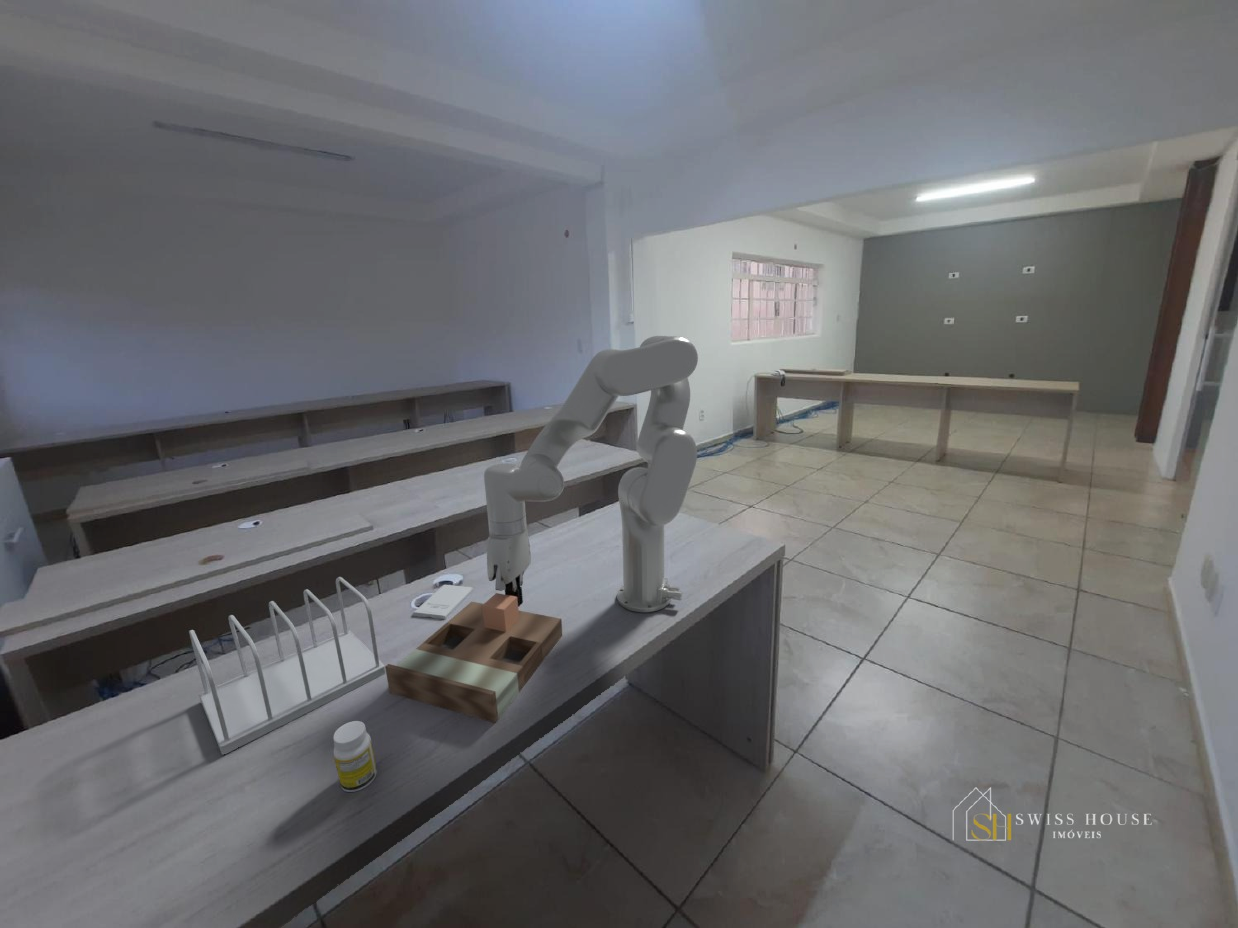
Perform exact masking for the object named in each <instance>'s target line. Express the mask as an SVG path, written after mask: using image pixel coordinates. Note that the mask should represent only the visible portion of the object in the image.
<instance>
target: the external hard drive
mask: <svg viewBox="0 0 1238 928" xmlns="http://www.w3.org/2000/svg"><path fill="white" fill-rule="evenodd" d="M473 592H474V588H473V587H471V586H462V585H452V584H443V585H442V586H440V587H439V588H438V589H437V590H436V591H435V592H434V593H433V594H432V595H431V596H430V597H429V598H427V599H426V600H425V601H424V602H423V603H422V604H421V605H420V606H419V607H418V608H416V609H415V610H414V611H413V612H412V615H413V616H414V617H422V618H432V619H438V620H447V619H448V618H449V616H451V615H452V614H453V613H454V611H456V610H457V609H458V608H459V606H460V605H462V604H463V602H464V601H465V600H466V599H468V597H469V596H470V595H471V594H472V593H473Z"/></svg>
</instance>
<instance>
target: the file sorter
mask: <svg viewBox="0 0 1238 928" xmlns="http://www.w3.org/2000/svg"><path fill="white" fill-rule="evenodd" d="M340 583H342V584H343V585H344V586H345V587H347V588H348V589H349V590H350V591H351V592H352V593H353V594H354V595H355V596H357V597H358V598H360V600H361V601H362V602H363V604H364V606H365V609H366V612H367V618H368V625H369V630H370V637H371V644H372V650H373V652H372V651H371V650H370V649H369V648H368V647H367V646H366V645H365V644H364V643H363V642H362V640H360V639H359V637H357V636H356V634H354V633H353V632H352V630H350V629H349V630H348V625H347V620H346V619H347V618H346V615H345V614H346V613H345V609H344V604H343V596H342V592H341V591H342V589H341V586H340V585H341V584H340ZM335 587H336V593H337V598H338V603H339V604H338V605H339V610H340V616H341V621H342V622H341V623H342V627H343V632H342V633H339V634H338V628H337V625H336V621H335V618H334V616H333V614H332V612H331V611H330V610H329V608H328V607H327V606H326V605H325V604H324V603H322V601H321V600H319V598H318V597H317V596H316V595H314V594H313V592H311V590H309V589H308V588H307V589H304V590H303V600H304V605H305V609H306V614H307V615H306V616H307V620H308V624H309V629H310V633H311V638H312V643H313V644H312V645H310V646H307V647H305V648H303V649H302V646H301V642H300V638H299V635H298V632H297V629H296V627H295V626H294V624H293V622H292V621H291V620H290V619H289V618H288V616H287V615H286V614H285V613H284V611H282V610H281V608H280V607H279V606H278V605H277V603H276V602H275V601H274V600H271V601H269V602H268V609H269V615H270V619H271V620H270V621H271V624H272V628H273V632H274V633H273V634H274V636H275V641H276V646H277V650H278V655H279V659H277V660H274V661H272V662H269V663H267V664H265V665H262V664H261V659H260V656H259V653H258V650H257V647H256V644H255V642H254V641H253V639H252V637H251V636H250V634H248V632H247V631H246V630H245V628H244V627H243V626H242V625H241V623H240V622H239V621H238V620H237V618H236V617H235V616H234V615H233V614H230V615H228V624H229V628H230V630H231V634H232V639H233V641H234V644H235V649H236V652H237V655H238V658H239V662H240V666H241V670H242V672H243V674H241V675H239V676H237V677H234V678H232V679H229V680H227V681H225V682H223V683H220V684H218V685H216V682H215V680H214V676H213V672H212V669H211V667H210V663H209V661H208V658H207V656H206V654H205V652H204V650H203V647H202V646H201V643H200V641H199V639H198V636H197V634H196V631H195V630H193V629H191V630H189V631H188V633H189V638H190V642H191V646H192V649H193V654H194V657H195V661H196V666H197V667H198V668H197V669H198V672H199V675H200V679H201V684H202V686H203V691H201V692H199V694H198V696H199V701H200V703H201V705H202V708H203V711H204V713H205V716H206V718H207V721H208V723H209V725H210V728H211V731H212V733H213V736H214V737H215V741H216V743H217V746H218V749H219V752H220V754H221V755H222V756H224V754H225V755H226V754H229V753H231V752H233V751H234V750H236V749H239V748H240V747H242V746H245V745H247V744H248V743H250V742H253V741H254V740H256V739H258V738H260V737H262V736H264V735H266V734H268V733H270V732H272V731H274V730H276V729H278V728H280V727H282V726H284V725H286V724H288V723H290V722H292V721H295V720H296V719H298V718H299V717H302V716H304V715H306V714H308V713H310V712H311V711H314V710H316V709H318V708H320V707H321V706H324V705H327V703H330V702H332V701H333V700H335V699H337V698H339V697H342V696H343V695H346V694H347V693H349V692H351V691H353V690H356V689H357V688H359V687H361V686H363V685H365V684H367V683H369V682H371V681H374V680H375V679H377V678H379V677H381V676H382V675H386V669H385V666H386V665H385V664H384V663H383V662H382V661H381V660H380V659H379V654H378V647H377V639H376V633H375V627H374V626H375V625H374V621H373V620H374V619H373V618H374V617H373V613H372V608H371V606H370V602H369V600H368V599H367V597H365V596H364V594H362V593H361V591H359V590H357V589H356V588H355V587H354V586H353V585H352V584H351V583H349V582H348V581H347V580H345V579H344V578H343V577H342V576H338V577H337V578H336V579H335ZM308 596H309V597H310V599H312V600H313V602H314V603H315V604H317V606H318V607H319V608H320V609H321V610H322V611H323V612H324V613H325V614H326V616H327V617H328V619H329V622H330V626H331V629H332V633H333V636H332V637H330V638H327V639H324V640H322V641H320V642H317V638H316V633H315V628H314V622H313V618H312V613H311V607H310V601H309V597H308ZM275 612H277V614H278V615H279V616H280V618H281V619H282V620H283V621H284V622H285V623H286V625H287V626H288V627H289V629H290V631H291V634H292V636H293V639H294V643H295V647H296V652H293V653H291V654H288V655H286V656H284V653H283V649H282V644H281V643H282V642H281V638H280V634H279V630H278V624H277V620H276V616H275ZM236 628H237V630H238V631H239V633H240V634H241V635H242V636H243V638H244V639H245V641H246V642H247V643H248V645H249V647H250V649H251V652H252V655H253V659H254V663H255V669H254V670H253V669H252V670H249V671H248V669H247V665H246V662H245V660H244V655H243V652H242V648H241V645H240V642H239V638H238V634H237V630H236ZM204 670H205V671H204ZM205 672H206V675H207V676H206V675H205ZM206 677H207V678H206ZM208 683H209V686H210V688H209V687H208ZM238 747H239V748H238Z"/></svg>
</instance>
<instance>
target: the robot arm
mask: <svg viewBox="0 0 1238 928" xmlns="http://www.w3.org/2000/svg"><path fill="white" fill-rule="evenodd" d="M698 359H699V355H698V351H697V349H696V347H695V345H694V344H693V342H691V341H690V340H689V339H687V338H685V337H682V336H674V335H673V336H670V335H668V336H667V335H653V336H650V337H648V338H646V339H644V340H643V341H642V342H641V344H640V345H639V347H634V348H629V349H625V350H624V349H623V350H622V349H611V348H609V349H604V350H603V349H602V350H600V351H598V352H597V353H596V354H595V355H594V356H593V357H592V359H591V360H590V362H589V363H587V364H588V365H587V367H586V368H585V369H584V371H583V373H582V374H581V376H580V378H578V381H577V382H576V384H575V385H574V387H573V389H572V390H571V392H570V393H569V395H568V397H567V399H566V400H565V401H564V403H563V405H562V406H561V408H560V409H559V410H558V411H557V413H556V414H554V416H552V418H551V419H550V420H549V421H548V423H547V424H546V425H545V426H544V427H543V428H541V430H540V431H539V433H538V434H537V436H536V437H535V439H534V440H533V442H532V443H531V446H530V447H529V448H528V450H527V452H526V453H525V455H524V456H523V458H522V460H521V463H520V466H519V465H518V464H515V463H498V464H493V465H491V466H488V467H487V468H485V471H484V473H483V481H484V489H485V501H486V512H487V522H488V532H489V535H488V538H487V543H486V569H487V570H486V571H487V578H488V581H490V582H493V581H495V591H500V592H502V591H504V595H510V596H515V597H517V600H518V608H519V607H520V606H521V605H523V602H524V600H523V588H522V587H523V584H524V573H525V572H526V571H527V569H528V568H529V566H530V565H531V562H532V561H531V560H532V558H531V557H532V556H531V544H530V537H529V532H528V527H527V526H528V524H527V514H526V511H527V510H526V502H549V501H553V500H555V499H557V498H558V497H559V496H560V495H562V493H563V490H564V488H565V480H564V476H563V475H562V474H563V473H561V471H560V470H559V468H558V465H559V464H560V463H561V461H562V460H563V458H564V456H565V455H566V454H567V452H568V451H569V450H570V449H571V448H572V446H574V445H575V444H576V443H577V442H579V441H580V440H583V439H585V438H588V437H590V436H591V435H593V434H594V433H595V432H597V431H598V429H599V428H600V426H601V425H602V423H603V421H604V420H605V418H606V416H607V415H608V414H609V412H610V410H611V409H612V407H613V405H614V404H615V402H616V401H617V400H618V398H619V397H630V396H633V395H639V394H642V393H646V392H650V397H649V401H648V406H647V409H646V413H645V416H644V420H643V422H642V426H641V429H640V432H639V436H638V438H637V442H636V452H637V453H638V455H639V457H640V458H641V460H643V461H644V462H646V463H647V464H649V468H647V467H642V466H637V467H632V468H630V469H629V470H627V471H626V472H625V473H624V474H623V475H622V477H621V478H620V480H619V483H618V489H617V490H618V491H617V493H618V502H619V503H618V504H619V508H620V515H621V530H622V531H621V532H622V570H623V571H622V575H623V577H622V578H623V583H622V584H623V586H621V587H620V588H619V589H618V590H617V593H616V597H617V598H616V599H617V602H618V604H619V605H620V606H621V607H623V608H624V609H626V610H628V611H632V612H636V613H654V612H656V611H657V612H658V611H660V610H662V609H664V608H666V607H667V606H668V605H669V604H670V602H671V599H672V600H676V601H681V602H682V600H683V592H682V591H680V586H674V585H673V586H672V585H670V584H668V583H669V582H668V579H669V578H666V577H665V526H666V525H667V524H669V523H671V522H672V521H674V519H676V517H677V516H678V514H679V512H680V510H682V509H681V508H682V507H683V503H684V501H685V498H686V496H687V493H688V490H689V487H690V483H691V480H692V477H693V475H694V472H695V469H696V465H697V461H698V448H697V444H696V441H695V440H694V438H693V437H692V436H691V434H689V433H688V432H687V431H685V430H684V427H685V423H686V421H687V420H686V418H687V415H688V413H689V412H688V410H689V408H690V401H691V387H690V382H689V377H691V375H692V374H693V373H694V371H695V370H696V369H697V365H698V361H699V360H698Z"/></svg>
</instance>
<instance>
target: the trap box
mask: <svg viewBox="0 0 1238 928" xmlns="http://www.w3.org/2000/svg"><path fill="white" fill-rule="evenodd" d="M483 604H484V603H482V602H476V601H470V603H469V602H468V604H467V605H466V606H464V608H462V609H461V610H460V611H458V612H457V614H455V615H454V616H453V617H451V618H450V619H449V620H448V621H447V622H446V623H445V624H443V625H442V626H440V628H439V629H437V630H436V632H434V633H433V634H432V635H431V636H429V637H428V638H427V639H425V641H423V642H422V643H421V644H420V645H418V646H417V648H414V650H413V651H411V652H410V653H409V654H408V655H406V657H405V658H404V659H402V660H401V661H400V662H399V663H397V664H396V665H394V664H391V663H388V664H386V665H385V670H386V673H385V675H386V679H387V680H386V681H387V685H388V690H389V693H390V694H392V695H396V696H400V697H403V698H406V699H409V700H410V699H411V700H413V701H418V702H420V703H424V704H427V705H431V706H434V707H439V708H440V709H446V710H449V711H452V712H456V713H459V714H463V715H467V716H470V717H474V718H477V719H480V720H484V721H487V722H488V721H489V722H491V723H495V724H497V722H498V721H499V719H500V718H501V717H502V715H503V714H504V713H505V712H506V710H507V708H509V706H510V705H511V704H512V702H513V701H514V699H515V698H516V697H517V696H518V694H519V693H520V692H521V690H522V689H523V688H524V686H525V685H526V684H527V682H528V681H529V680H530V678H531V677H532V676H533V675H534V674H535V672H536V671H537V670H538V668H539V667H540V665H542V663H543V662H544V661H545V659H546V658H547V657H548V655H549V654H550V653H551V651H552V650H553V648H554V647H555V646H556V644H557V643H558V642H559V641H560V640H561V638H562V637H563V625H562V623H563V622H562V618H559V617H554V616H549V615H545V614H538V613H535V612H533V613H532V612H527V611H523V610H518V611H519V619H518V620H517V621H516V622H515V623H514V624H513V625H512V626H511V627H510V628H509V629H508V630H507V631H506V632H504V631H499V630H495V629H490V628H485V626H484V617H483V608H482V605H483Z"/></svg>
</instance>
